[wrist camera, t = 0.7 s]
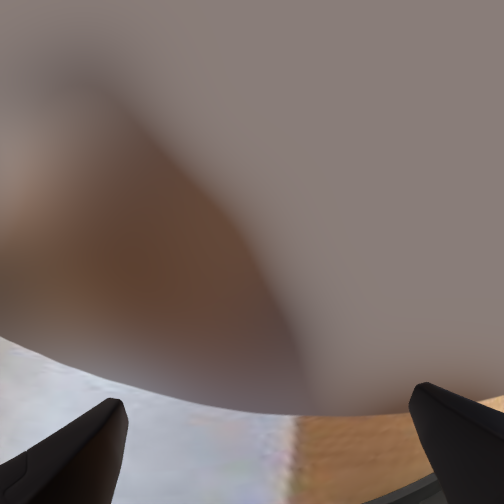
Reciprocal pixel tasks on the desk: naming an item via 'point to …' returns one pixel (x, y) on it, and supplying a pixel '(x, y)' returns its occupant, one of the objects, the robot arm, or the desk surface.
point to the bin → (415, 493)
